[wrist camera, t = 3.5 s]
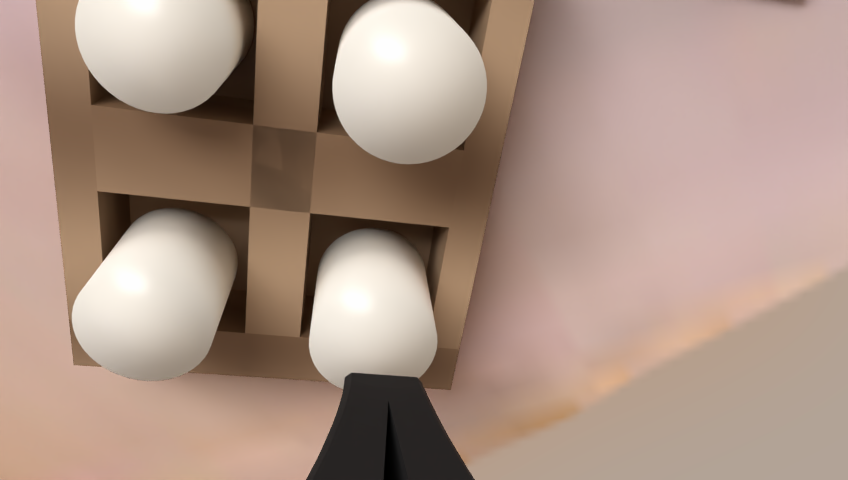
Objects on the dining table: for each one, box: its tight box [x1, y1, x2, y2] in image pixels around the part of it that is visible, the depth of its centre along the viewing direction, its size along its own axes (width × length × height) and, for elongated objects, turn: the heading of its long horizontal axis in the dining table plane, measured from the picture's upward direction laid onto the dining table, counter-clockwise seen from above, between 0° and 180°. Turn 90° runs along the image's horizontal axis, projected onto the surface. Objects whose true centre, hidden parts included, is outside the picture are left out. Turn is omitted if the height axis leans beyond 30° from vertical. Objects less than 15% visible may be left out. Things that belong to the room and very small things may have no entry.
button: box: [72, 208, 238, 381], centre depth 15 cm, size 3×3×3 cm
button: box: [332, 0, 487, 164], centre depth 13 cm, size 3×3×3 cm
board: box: [36, 0, 534, 390], centre depth 16 cm, size 12×10×2 cm
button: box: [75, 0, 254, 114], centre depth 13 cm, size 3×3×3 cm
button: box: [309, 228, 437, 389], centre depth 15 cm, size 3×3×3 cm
